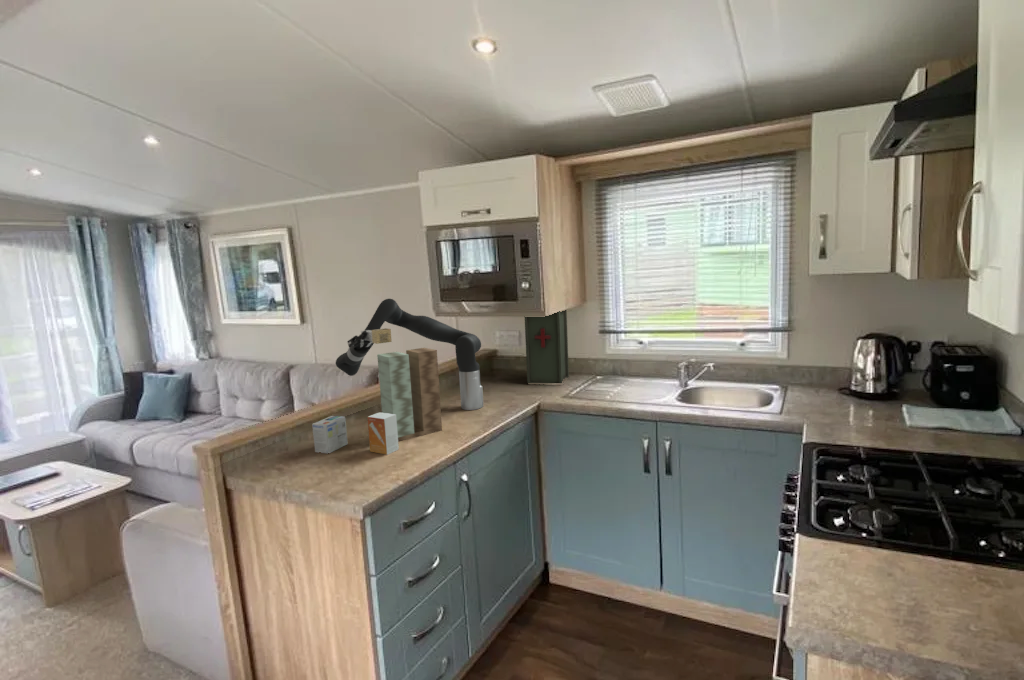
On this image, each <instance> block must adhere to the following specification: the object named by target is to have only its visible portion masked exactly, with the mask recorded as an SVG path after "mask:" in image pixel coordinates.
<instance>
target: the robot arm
mask: <svg viewBox="0 0 1024 680" xmlns="http://www.w3.org/2000/svg"><path fill="white" fill-rule="evenodd" d="M385 322H386V323H387V324H391V325H394V326H397V327H400V328H404V329H406V330H408V331H411V332H413V333H415V334H417V335H419V336H420V337H421V336H422V337H423V338H426V339H429V340H431V341H434V342H441V343H446V344H449V345H450V344H451V345H454V346H455V348H454V349H455V350H454V351H455V357H456V358H455V359H456V364H457V367H458V374H459V375H458V376H459V377H458V378H459V391H460V393H459V394H460V406H461V407H460V408H461V409H462V410H464V411H473V410H478V409H481V408H483V407H484V393H483V385H481V373H480V364H479V362H477V360H476V353H478V352H479V351H480V349H481V348H482V341H481V339H480V338H479V337H478V336H477V335H475V334H474V333H470V332H466V331H463V330H460V329H457V328H454V327H452V326H450V325H448V324H447V323H443V322H441V321H439V320H437V319H434V318H433V317H430V316H427V315H414V314H411V313H408V311H405V310H403V309H401V308H400V306H399V304H398V303H397V301H396V300H395V299H393V298H385V299H383V300H382V301H381V302H380V303H379V305H378V306H377V307H376V310H375V312H374V313H373V315H372V317H371V319H370V321H369V322H368V324H367V326H366V327H365V329H364V330H362V331H363V332H362V333H361V332H360V334H359V335H354V336H353V337H351V338H350V339H348V340H347V342H346V343H347V345H348V348H347V351H346V352H344V353H341V355H338V357H337V358H336V360H335V366H336V367H337V368H338V369H339V370H340V371H342V372H343V373H345V374H346V375H347V376H349V377H352V376H355V375H356V374H357V373H358V372H359V370H360V367H361V364H362V362H363V360H364V358H365V356H366V355H367V354H368V352H370V349H372V347H373V346H374V345H375V343H373V342H371V341H367V340H364V339H365V338H366V336H367V333H366V331H365V330H376V329H382V326H383V325H384V323H385Z"/></svg>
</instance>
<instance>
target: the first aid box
mask: <svg viewBox="0 0 1024 680" xmlns="http://www.w3.org/2000/svg"><path fill="white" fill-rule="evenodd" d="M567 311H568V309H567V310H565V311H562V312H560V311H559V312H557V313H554V314H552V315H549V316H545V317H525V316H524V333H525V334H524V335H525V339H524V340H525V354H526V356H525V357H526V358H525V359H526V360H525V361H526V381H527V383H562V381H563V379H565V378H568V377H569V378H570V375H569V373H570V372H569V371H570V369H569V368H570V367H569V347H568V346H569V343H568V342H569V341H568V313H567Z"/></svg>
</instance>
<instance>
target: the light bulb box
mask: <svg viewBox="0 0 1024 680" xmlns="http://www.w3.org/2000/svg"><path fill="white" fill-rule="evenodd" d="M346 421H347V420H346V416H341V415H330V416H328V417H326V418H324V419H321V420H319V421H316V422H314V423H311V425H312V434H313V436H312V437H313V443H314V444H313V445H314V452H315V453H319V452H321V453H320V454H328V453H329V454H331V453H333V452H335V451H337V450H339V449H341V448H343V447H345V446H346V445H348V442H349V441H348V433H347V423H346Z"/></svg>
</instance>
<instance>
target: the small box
mask: <svg viewBox="0 0 1024 680" xmlns="http://www.w3.org/2000/svg"><path fill="white" fill-rule="evenodd" d="M367 427H368V441H369V451H370V452H371V453H376V454H381V455H386V456H388V455H390V454H392V453H394V452H396V451H398V450H400V448H399V441H398V433H397V420H396V414H389V413H382V411H381V412H376V413H374V414H371V415H369V416H367Z"/></svg>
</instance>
